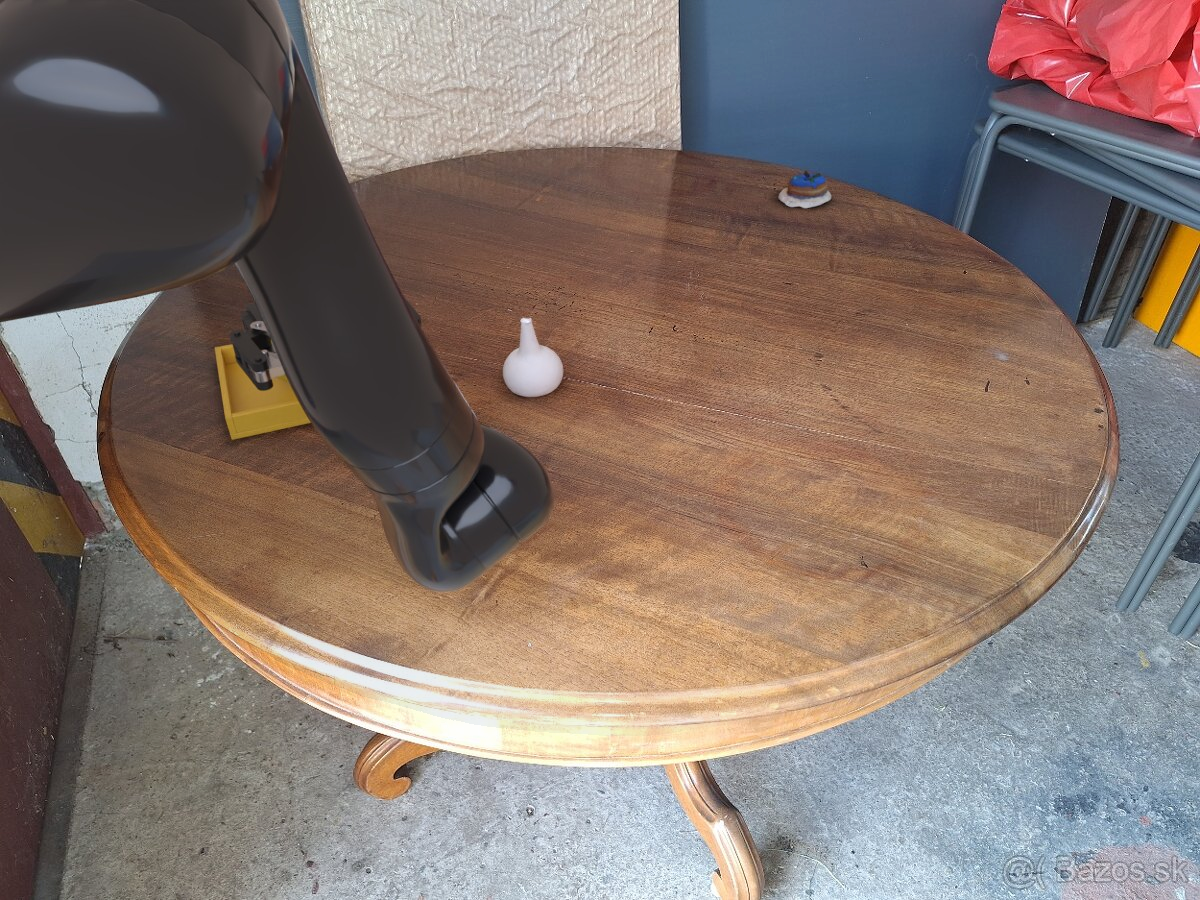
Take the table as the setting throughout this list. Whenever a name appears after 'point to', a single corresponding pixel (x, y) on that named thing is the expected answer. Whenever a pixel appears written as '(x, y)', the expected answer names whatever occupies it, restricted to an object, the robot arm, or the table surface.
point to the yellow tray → (254, 400)
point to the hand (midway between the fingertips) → (301, 301)
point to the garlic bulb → (532, 366)
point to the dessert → (805, 191)
